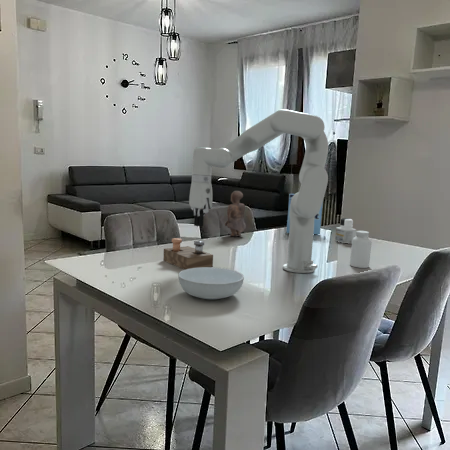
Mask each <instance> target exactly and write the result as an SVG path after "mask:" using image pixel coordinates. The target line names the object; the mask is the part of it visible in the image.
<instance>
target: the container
mask: <svg viewBox="0 0 450 450" xmlns="http://www.w3.org/2000/svg"><path fill="white" fill-rule="evenodd" d="M353 226H354V220H353V219H352V218H346V217H344V218H341V219H340V225H339V227H337V226H336V227H335V229H336V230H335V238H334V239H335V240H334V241H335V242H337V241H339V242H338V243H340V242H342V243H341V244H343V243H348V244H352V240H353V238H354V237H357V236H356V231H357V229H356V228H353Z"/></svg>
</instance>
